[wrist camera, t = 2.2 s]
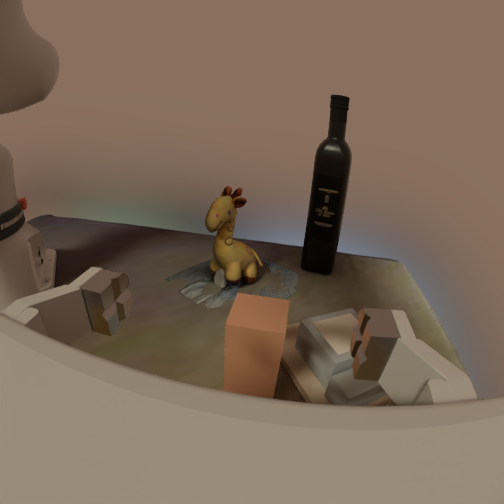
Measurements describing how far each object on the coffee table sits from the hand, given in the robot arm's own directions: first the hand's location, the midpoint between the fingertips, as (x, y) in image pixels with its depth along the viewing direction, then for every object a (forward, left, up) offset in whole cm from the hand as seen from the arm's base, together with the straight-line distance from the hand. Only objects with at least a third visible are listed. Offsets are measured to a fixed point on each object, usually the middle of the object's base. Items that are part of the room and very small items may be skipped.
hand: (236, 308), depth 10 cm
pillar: (-10, +6, -18) cm, 21 cm away
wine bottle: (-32, +27, -18) cm, 45 cm away
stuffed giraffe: (-31, +11, -19) cm, 38 cm away
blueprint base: (-10, +16, -18) cm, 26 cm away
